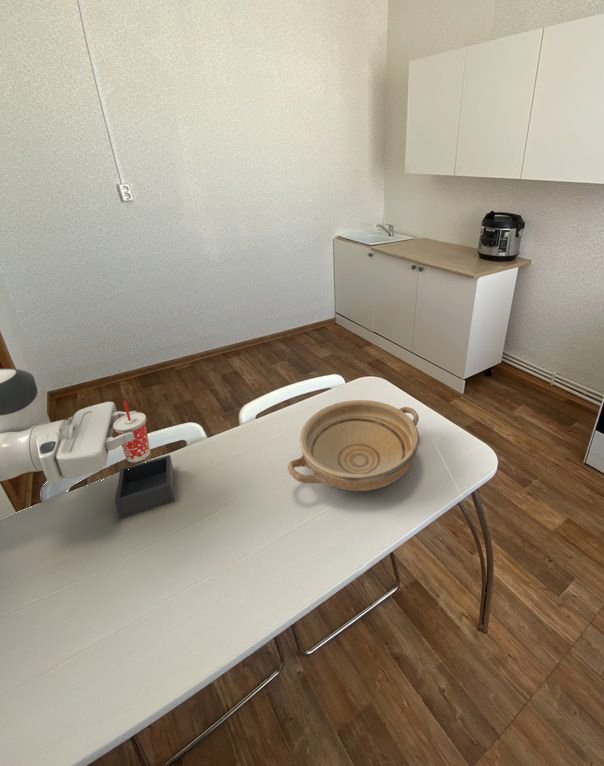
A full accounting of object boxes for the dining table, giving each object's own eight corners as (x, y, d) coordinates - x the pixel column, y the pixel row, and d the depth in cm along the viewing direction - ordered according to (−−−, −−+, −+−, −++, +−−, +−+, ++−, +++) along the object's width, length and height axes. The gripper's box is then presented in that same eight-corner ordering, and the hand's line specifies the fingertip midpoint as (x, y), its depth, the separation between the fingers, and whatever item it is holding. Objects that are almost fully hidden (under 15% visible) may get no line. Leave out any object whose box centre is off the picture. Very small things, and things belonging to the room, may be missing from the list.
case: (120, 519, 82) (114, 501, 80) (125, 485, 91) (120, 468, 89) (174, 501, 86) (170, 484, 84) (173, 470, 95) (170, 454, 93)
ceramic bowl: (326, 550, 75) (324, 511, 71) (266, 465, 96) (262, 433, 93) (453, 466, 95) (456, 432, 92) (380, 412, 117) (380, 383, 113)
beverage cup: (116, 459, 83) (100, 404, 78) (142, 442, 88) (128, 390, 84) (134, 468, 81) (119, 412, 76) (160, 450, 86) (147, 396, 81)
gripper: (73, 427, 87) (141, 411, 92) (48, 491, 69) (134, 467, 75) (65, 403, 85) (136, 389, 90) (37, 463, 67) (127, 440, 73)
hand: (135, 424), depth 82 cm, fingers closed on beverage cup, 6 cm apart
